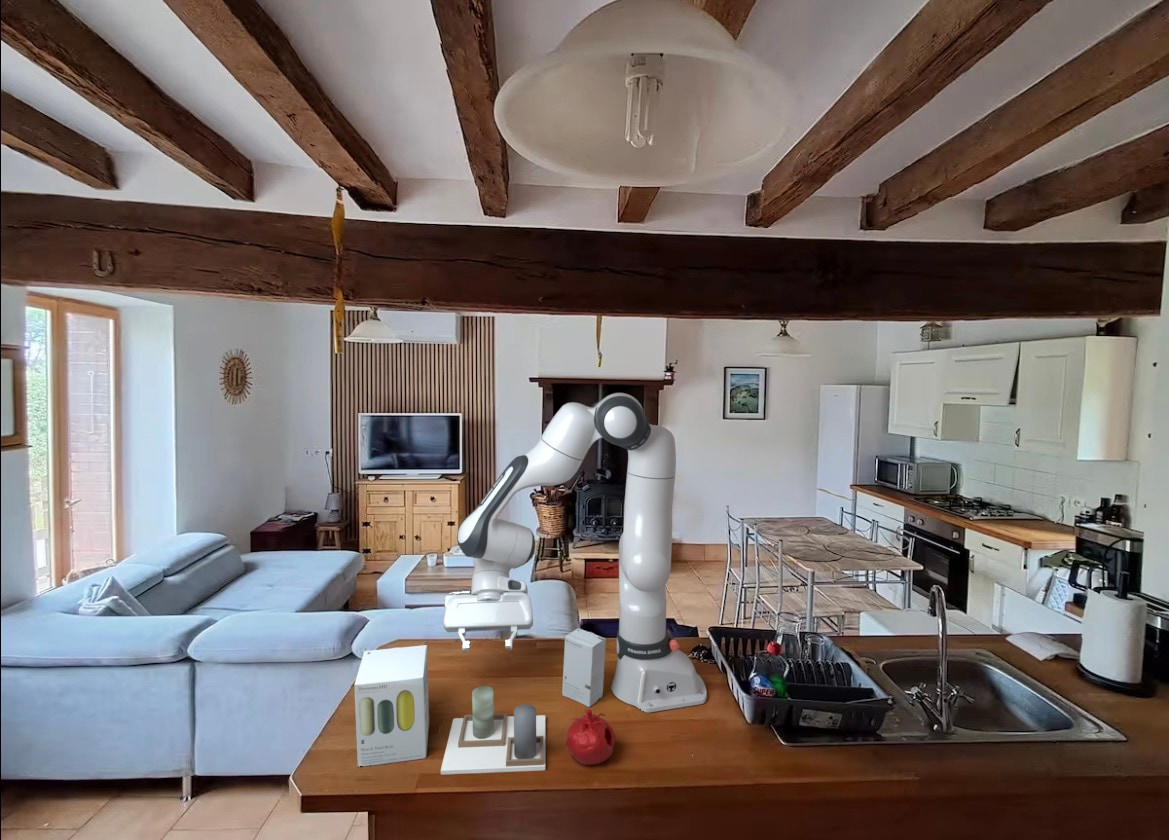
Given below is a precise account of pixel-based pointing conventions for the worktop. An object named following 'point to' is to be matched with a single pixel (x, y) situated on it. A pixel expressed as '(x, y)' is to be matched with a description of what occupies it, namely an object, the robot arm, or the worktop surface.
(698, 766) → the worktop surface
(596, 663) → the skincare box
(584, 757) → the pomegranate
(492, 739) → the board
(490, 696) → the sage pin
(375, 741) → the supplement box
